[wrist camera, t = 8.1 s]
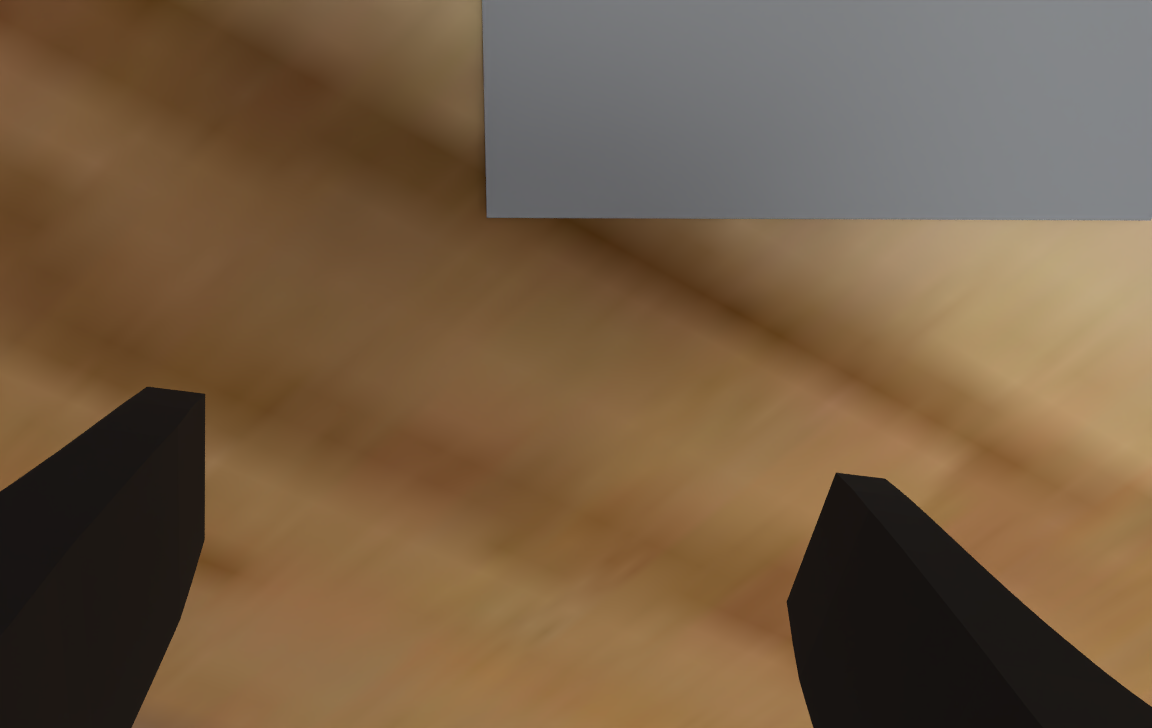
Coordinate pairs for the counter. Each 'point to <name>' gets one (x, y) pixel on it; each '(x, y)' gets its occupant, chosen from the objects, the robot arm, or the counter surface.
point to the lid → (818, 109)
